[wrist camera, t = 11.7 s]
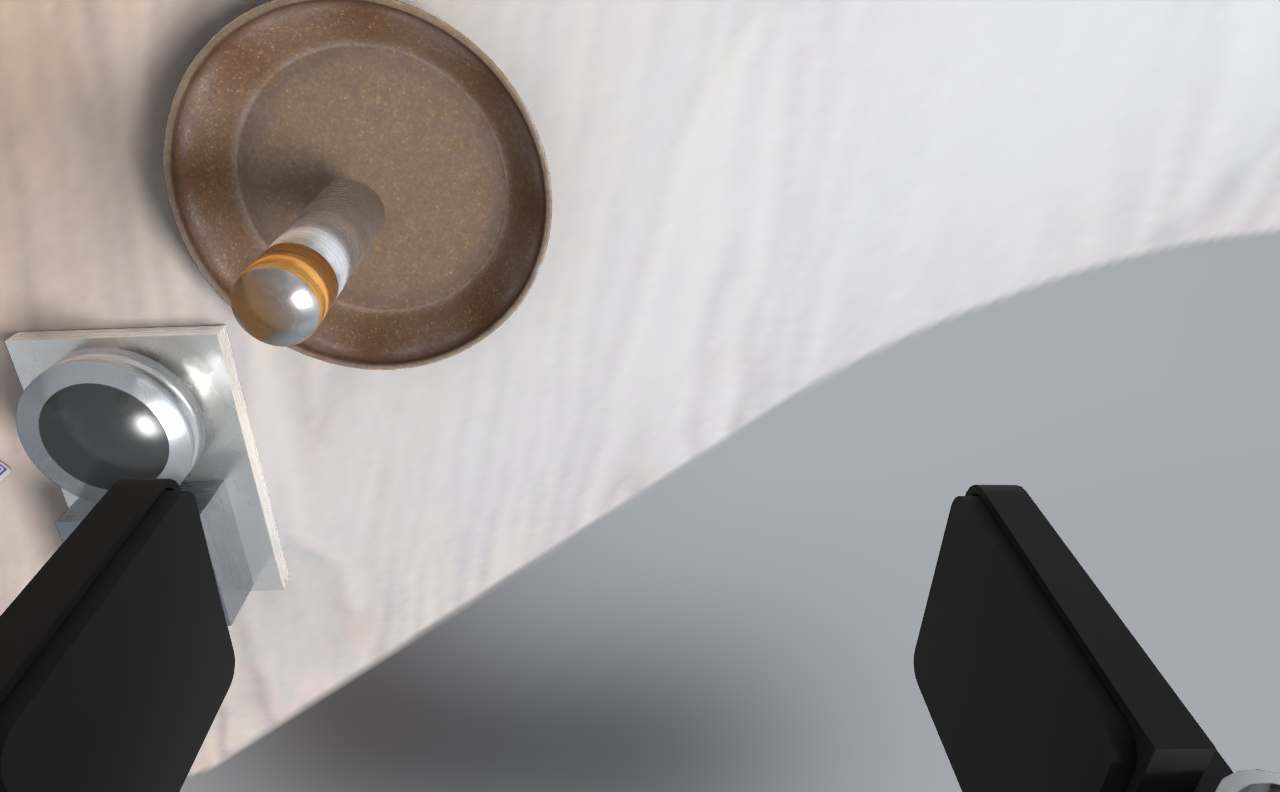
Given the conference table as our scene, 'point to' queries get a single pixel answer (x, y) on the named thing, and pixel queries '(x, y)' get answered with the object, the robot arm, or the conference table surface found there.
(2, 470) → the medicine box
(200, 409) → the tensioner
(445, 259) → the saucer
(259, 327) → the pin
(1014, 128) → the conference table surface
